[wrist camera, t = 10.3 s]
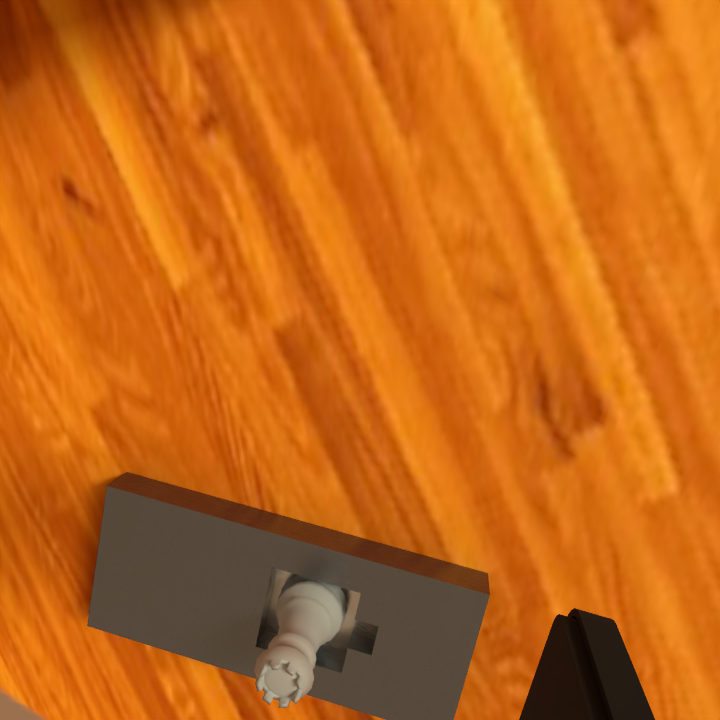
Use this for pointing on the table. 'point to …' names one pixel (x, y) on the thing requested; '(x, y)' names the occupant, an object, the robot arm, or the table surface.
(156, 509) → the pocket plate
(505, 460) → the table surface
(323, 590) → the rook chess piece
